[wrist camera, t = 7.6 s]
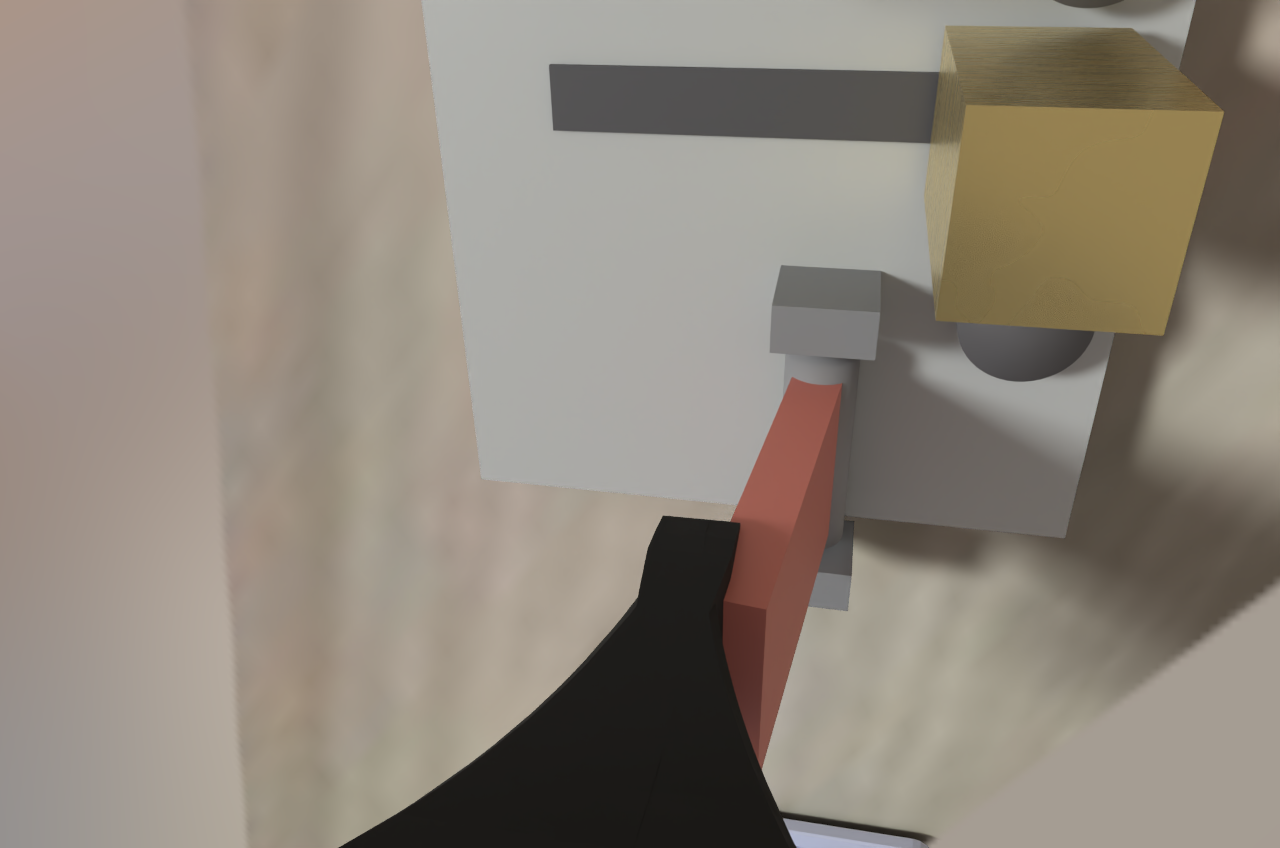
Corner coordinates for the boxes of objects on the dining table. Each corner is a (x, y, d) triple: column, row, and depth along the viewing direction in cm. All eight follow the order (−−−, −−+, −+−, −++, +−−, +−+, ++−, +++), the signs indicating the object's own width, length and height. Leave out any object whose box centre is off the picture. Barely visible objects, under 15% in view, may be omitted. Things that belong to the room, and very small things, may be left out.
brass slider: (1094, 202, 15) (1162, 335, 11) (924, 195, 15) (936, 320, 11) (1131, 28, 13) (1225, 112, 10) (945, 25, 14) (965, 105, 10)
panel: (1046, 537, 20) (1068, 637, 17) (504, 482, 22) (457, 565, 19) (1280, -474, 12) (1377, -542, 10) (405, -411, 14) (307, -455, 12)
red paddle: (847, 516, 19) (770, 804, 13) (782, 505, 19) (682, 782, 14) (865, 339, 17) (784, 593, 11) (793, 330, 17) (681, 572, 12)
